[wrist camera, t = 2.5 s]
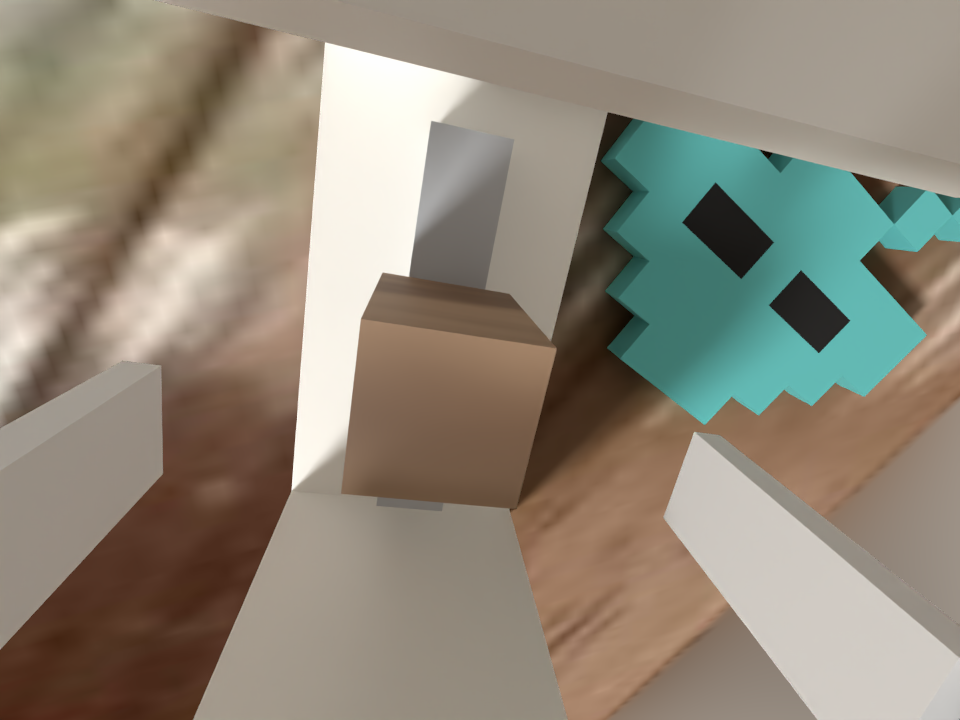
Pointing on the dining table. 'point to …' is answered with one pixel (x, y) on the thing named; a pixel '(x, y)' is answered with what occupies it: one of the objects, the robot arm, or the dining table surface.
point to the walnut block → (444, 394)
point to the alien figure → (757, 270)
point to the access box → (513, 282)
